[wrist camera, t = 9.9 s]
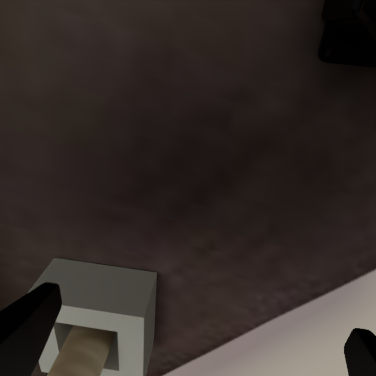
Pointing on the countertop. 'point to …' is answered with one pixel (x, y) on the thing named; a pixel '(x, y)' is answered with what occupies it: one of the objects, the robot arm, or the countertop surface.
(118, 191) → the countertop surface
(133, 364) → the socket block
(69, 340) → the peg
